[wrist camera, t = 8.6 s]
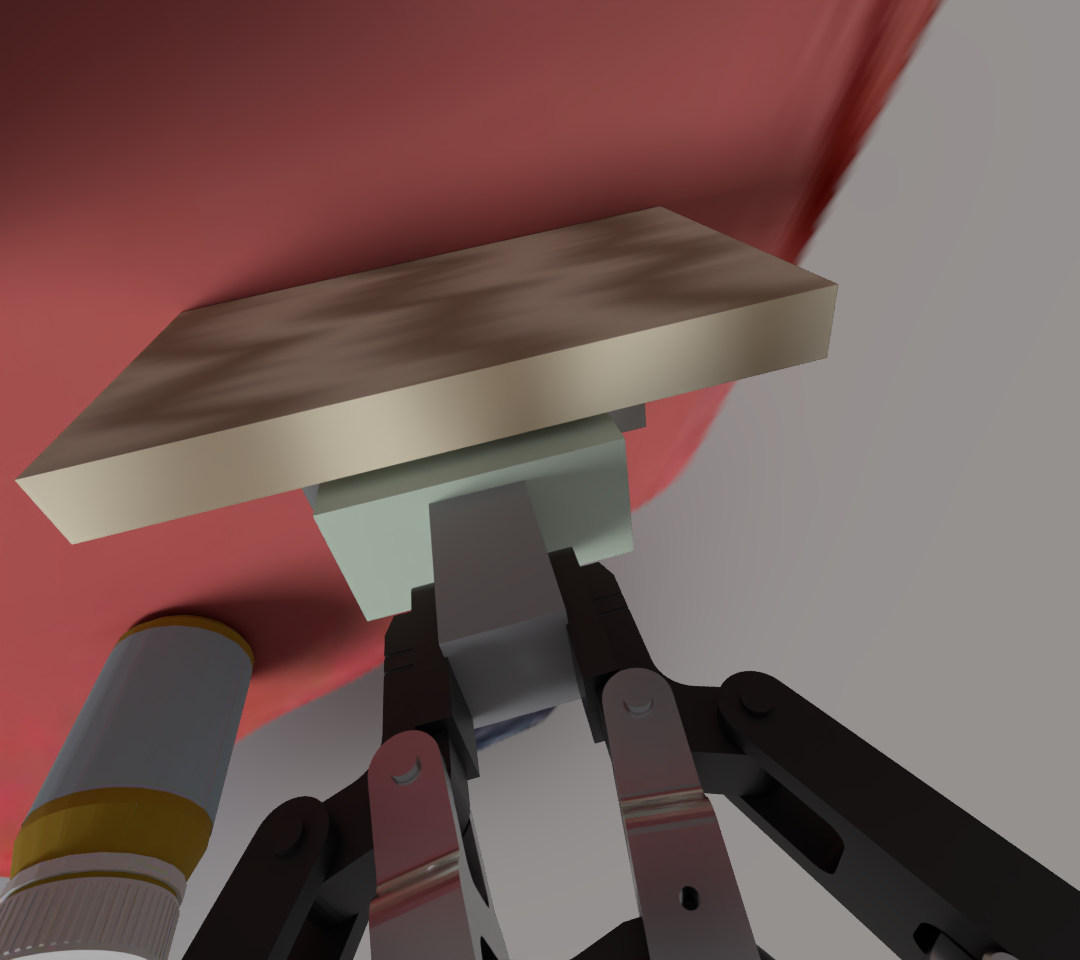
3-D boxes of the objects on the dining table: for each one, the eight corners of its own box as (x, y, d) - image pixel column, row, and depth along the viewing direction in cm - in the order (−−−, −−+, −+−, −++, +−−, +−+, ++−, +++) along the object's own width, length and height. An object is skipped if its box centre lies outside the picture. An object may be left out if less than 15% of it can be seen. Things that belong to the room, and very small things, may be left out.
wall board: (278, 489, 28) (213, 703, 18) (181, 312, 22) (14, 480, 13) (666, 394, 29) (798, 544, 19) (660, 206, 24) (838, 284, 14)
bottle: (212, 592, 30) (88, 924, 18) (279, 666, 34) (213, 978, 22) (87, 633, 30) (-122, 996, 18) (169, 703, 34) (43, 1036, 22)
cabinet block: (374, 499, 21) (358, 775, 13) (334, 405, 19) (281, 667, 10) (580, 447, 22) (698, 678, 13) (567, 350, 19) (700, 555, 11)
